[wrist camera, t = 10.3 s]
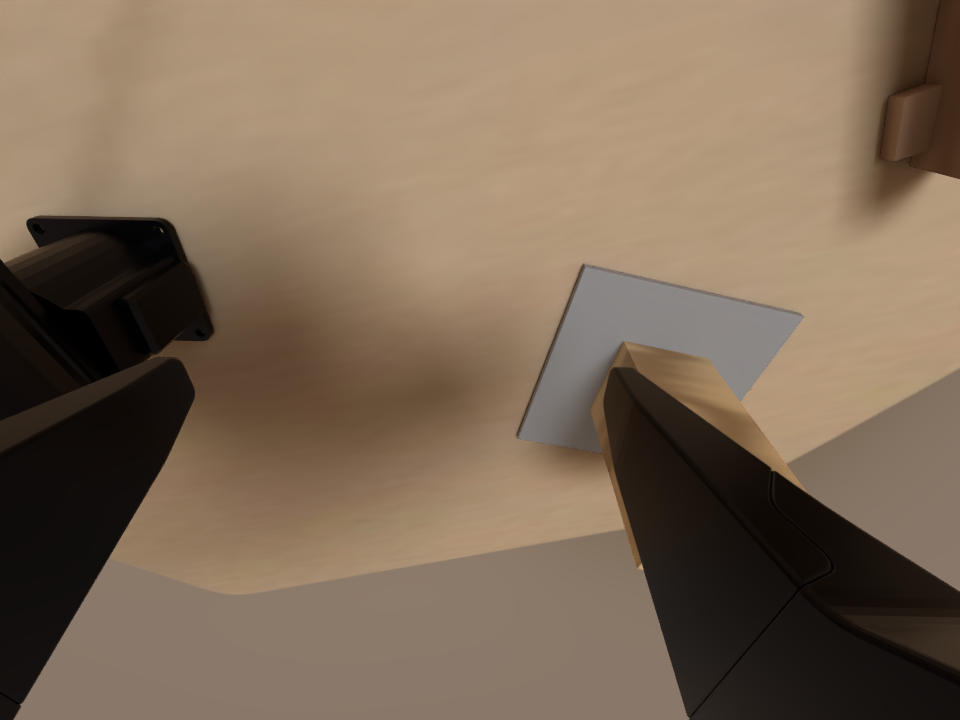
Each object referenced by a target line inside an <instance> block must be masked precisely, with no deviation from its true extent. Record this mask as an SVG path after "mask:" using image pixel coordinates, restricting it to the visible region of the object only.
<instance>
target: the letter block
mask: <svg viewBox="0 0 960 720" xmlns="http://www.w3.org/2000/svg"><path fill="white" fill-rule="evenodd" d="M613 367H632V368H634V369H635V370H637V371H638V372H640V373H641V374H642V375H644V376H645V377H647V378H648V379H649V380H651V381H652V382H653V383H655V384H656V385H658V386H659V387H660V388H662V389H663V390H665V391H666V392H667V393H669V394H670V395H671V396H673V397H674V398H676V399H677V400H678V401H680V402H681V403H683V404H684V405H685V406H687V407H688V408H689V409H691V410H692V411H694V412H695V413H696V414H698V415H699V416H701V417H702V418H703V419H705V420H706V421H707V422H709V423H710V424H712V425H713V426H714V427H716V428H717V429H719V430H720V431H721V432H723V433H724V434H725V435H727V436H728V437H730V438H731V439H732V440H734V441H735V442H736V443H738V444H739V445H741V446H742V447H743V448H745V449H746V450H748V451H749V452H750V453H752V454H753V455H754V456H756V457H757V458H759V459H760V460H761V461H763V462H764V463H766V464H767V465H768V466H770V467H771V468H772V471H777V472H778V473H780V474H781V475H782V476H784V477H785V478H787V479H788V480H789V481H791V482H792V483H793V484H795V485H796V486H798V487H799V488H801V489H802V490H803V491H805V489H804V488H803V487H802V485H801V484H800V482H799V481H798V480H797V479H796V477H795V476H794V474H793V473H792V472H791V471H790V469H789V468H788V466H787V465H786V463H785V462H784V461H783V459H782V458H781V457H780V455H779V454H778V453H777V451H776V450H775V449H774V447H773V446H772V444H771V443H770V442H769V440H768V439H767V438H766V436H765V435H764V434H763V432H762V431H761V430H760V428H759V427H758V425H757V424H756V423H755V421H754V420H753V419H752V417H751V416H750V415H749V413H748V412H747V411H746V409H745V408H744V406H743V405H742V404H741V402H740V401H739V400H738V398H737V397H736V396H735V394H734V393H733V392H732V390H731V389H730V387H729V386H728V385H727V383H726V382H725V381H724V379H723V378H722V377H721V375H720V374H719V373H718V371H717V370H716V368H715V367H714V366H713V364H712V363H711V362H710V360H709V359H708V358H704V357H699V356H695V355H690V354H685V353H680V352H675V351H670V350H665V349H661V348H656V347H651V346H646V345H641V344H636V343H632V342H627V341H623V343H622V345H621V347H620V349H619V351H618V353H617V355H616V357H615V359H614V361H613V363H612V365H611V367H610V369H609V371H608V373H607V375H606V377H605V379H604V381H603V383H602V385H601V387H600V389H599V391H598V393H597V395H596V397H595V399H594V401H593V403H592V405H591V408H590V411H591V414H592V418H593V421H594V424H595V428H596V431H597V435H598V438H599V441H600V445H601V448H602V452H603V455H604V458H605V462H606V465H607V468H608V472H609V475H610V479H611V482H612V485H613V489H614V492H615V495H616V499H617V502H618V506H619V509H620V512H621V516H622V519H623V523H624V526H625V529H626V533H627V536H628V539H629V543H630V546H631V550H632V553H633V556H634V560H635V563H636V566H637V569H642V570H643V566H642V563H641V559H640V556H639V553H638V549H637V546H636V543H635V539H634V536H633V533H632V529H631V526H630V523H629V519H628V516H627V513H626V509H625V506H624V503H623V499H622V496H621V493H620V489H619V486H618V483H617V479H616V475H615V472H614V467H613V462H612V456H611V450H610V444H609V438H608V432H607V426H606V420H605V414H604V408H603V398H604V393H605V389H606V385H607V381H608V376H609V372H610V370H611V369H612V368H613ZM805 492H806V491H805ZM806 493H807V492H806Z"/></svg>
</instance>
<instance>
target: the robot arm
mask: <svg viewBox="0 0 960 720" xmlns="http://www.w3.org/2000/svg"><path fill="white" fill-rule="evenodd" d="M26 225H27V228H28V230H29V232H30V233H31V235H32V237H33V238H34V240H35V242H36V243H37V245H38V247H39V248H38V249H36V250H33V251H31V252H29V253H26V254H24V255H22V256H19V257H17V258H15V259H12V260H10V261H8V262H5V263H3V262H2V260H1V259H0V720H14V718H15V716H16V714H17V713H18V711H19V709H20V708H21V705H20V704H21V703H23V702H24V700H25V699H26V697H27V695H28V693H29V692H30V690H31V688H32V687H33V685H34V683H35V681H36V680H37V678H38V676H39V675H40V673H41V671H42V670H43V668H44V666H45V665H46V663H47V661H48V660H49V658H50V656H51V655H52V653H53V651H54V650H55V648H56V646H57V644H58V643H59V641H60V639H61V638H62V636H63V634H64V633H65V631H66V629H67V628H68V626H69V624H70V623H71V621H72V619H73V617H74V616H75V614H76V612H77V611H78V609H79V607H80V606H81V604H82V602H83V601H84V599H85V597H86V595H87V594H88V592H89V590H90V589H91V587H92V585H93V584H94V582H95V580H96V579H97V577H98V575H99V573H100V572H101V570H102V568H103V566H104V565H105V563H106V562H107V560H108V558H109V557H110V555H111V553H112V552H113V550H114V548H115V547H116V545H117V543H118V541H119V540H120V538H121V536H122V535H123V533H124V531H125V530H126V528H127V526H128V525H129V523H130V521H131V519H132V518H133V516H134V514H135V513H136V511H137V509H138V508H139V506H140V504H141V503H142V501H143V499H144V498H145V496H146V494H147V492H148V491H149V489H150V487H151V486H152V484H153V482H154V481H155V479H156V477H157V476H158V474H159V472H160V470H161V469H162V467H163V465H164V463H165V461H166V459H167V457H168V455H169V453H170V451H171V449H172V447H173V445H174V443H175V440H176V438H177V436H178V434H179V432H180V429H181V427H182V425H183V423H184V421H185V418H186V416H187V414H188V412H189V410H190V407H191V405H192V403H193V401H194V397H195V390H194V386H193V384H192V382H191V380H190V378H189V376H188V373H187V371H186V369H185V367H184V365H183V363H182V362H181V361H180V360H179V359H177V358H174V357H156V358H152V359H150V360H148V361H146V360H147V359H148V358H150V357H151V356H152V355H157V354H159V353H160V352H161V351H162V350H163V349H164V348H165V347H167V346H168V345H169V344H170V343H171V342H172V341H173V340H181V341H206V340H208V339H209V338H210V337H211V336H212V335H213V333H214V331H213V328H212V325H211V323H210V320H209V317H208V315H207V312H206V308H205V305H204V303H203V300H202V298H201V295H200V293H199V290H198V287H197V285H196V282H195V280H194V277H193V275H192V272H191V270H190V267H189V266H188V264H187V261H186V259H185V256H184V254H183V251H182V249H181V246H180V244H179V241H178V238H177V236H176V233H175V231H174V228H173V227H172V225H171V224H170V223H169V222H168V221H166V220H165V219H162V218H143V217H90V216H36V217H33V218H30V219H28V220H27V223H26ZM40 225H41V226H42V227H43V228H44V229H42V227H41V226H40ZM157 226H158V227H160V228H161V229H162V230H163V232H164V234H163V233H161V232H160V231H159V230H158V228H157ZM199 329H201V330H203V331H204V333H203V332H201V331H200V330H199ZM603 408H604V414H605V420H606V426H607V432H608V438H609V444H610V450H611V456H612V462H613V467H614V472H615V475H616V479H617V483H618V486H619V489H620V493H621V496H622V499H623V503H624V506H625V509H626V513H627V516H628V519H629V523H630V526H631V529H632V533H633V536H634V539H635V543H636V546H637V549H638V553H639V556H640V559H641V563H642V566H643V570H644V573H645V576H646V580H647V583H648V586H649V590H650V593H651V596H652V599H653V603H654V606H655V610H656V613H657V616H658V619H659V623H660V626H661V630H662V633H663V636H664V639H665V643H666V646H667V650H668V653H669V656H670V660H671V663H672V666H673V670H674V673H675V676H676V680H677V683H678V686H679V689H680V692H681V696H682V700H683V703H684V707H685V710H686V713H687V716H688V717H689V718H690V719H689V720H960V591H958V590H956V589H955V588H953V587H952V586H950V585H949V584H947V583H945V582H944V581H942V580H940V579H939V578H938V577H936V576H934V575H933V574H931V573H930V572H928V571H926V570H925V569H923V568H922V567H920V566H919V565H917V564H915V563H914V562H912V561H911V560H909V559H908V558H906V557H904V556H903V555H901V554H900V553H898V552H896V551H895V550H893V549H892V548H890V547H889V546H887V545H885V544H884V543H882V542H881V541H879V540H878V539H876V538H874V537H873V536H871V535H870V534H868V533H867V532H865V531H863V530H862V529H860V528H859V527H857V526H856V525H854V524H853V523H851V522H849V521H848V520H846V519H845V518H843V517H842V516H840V515H839V514H837V513H836V512H834V511H832V510H831V509H829V508H828V507H826V506H825V505H823V504H822V503H821V502H819V501H818V500H816V499H815V498H813V497H812V496H811V495H809V494H808V493H806V492H805V491H803V490H802V489H801V488H799V487H798V486H796V485H795V484H793V483H792V482H791V481H789V480H788V479H787V478H785V477H784V476H782V475H781V474H780V473H778V472H777V471H772V468H771V467H770V466H768V465H767V464H766V463H764V462H763V461H761V460H760V459H759V458H757V457H756V456H754V455H753V454H752V453H750V452H749V451H748V450H746V449H745V448H743V447H742V446H741V445H739V444H738V443H736V442H735V441H734V440H732V439H731V438H730V437H728V436H727V435H725V434H724V433H723V432H721V431H720V430H719V429H717V428H716V427H714V426H713V425H712V424H710V423H709V422H707V421H706V420H705V419H703V418H702V417H701V416H699V415H698V414H696V413H695V412H694V411H692V410H691V409H689V408H688V407H687V406H685V405H684V404H683V403H681V402H680V401H678V400H677V399H676V398H674V397H673V396H671V395H670V394H669V393H667V392H666V391H665V390H663V389H662V388H660V387H659V386H658V385H656V384H655V383H653V382H652V381H651V380H649V379H648V378H647V377H645V376H644V375H642V374H641V373H640V372H638V371H637V370H635V369H634V368H632V367H613V368H612V369H611V370H610V372H609V376H608V381H607V385H606V389H605V393H604V398H603Z"/></svg>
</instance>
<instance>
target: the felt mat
mask: <svg viewBox="0 0 960 720" xmlns="http://www.w3.org/2000/svg"><path fill="white" fill-rule="evenodd" d="M803 318H804V316H803V315H802V314H800V313H797V312H793V311H789V310H784V309H780V308H775V307H771V306H767V305H762V304H758V303H753V302H749V301H745V300H740V299H736V298H731V297H727V296H723V295H718V294H714V293H710V292H705V291H701V290H696V289H692V288H688V287H683V286H679V285H674V284H670V283H666V282H661V281H657V280H652V279H648V278H644V277H639V276H635V275H630V274H626V273H622V272H617V271H613V270H608V269H604V268H600V267H595V266H591V265H587V264H584V265H583V267H582V270H581V272H580V275H579V278H578V280H577V283H576V285H575V288H574V290H573V293H572V296H571V298H570V301H569V303H568V306H567V308H566V311H565V314H564V316H563V319H562V321H561V324H560V327H559V329H558V332H557V334H556V337H555V339H554V342H553V345H552V347H551V350H550V352H549V355H548V357H547V360H546V363H545V365H544V368H543V370H542V373H541V375H540V378H539V381H538V383H537V386H536V388H535V391H534V394H533V396H532V399H531V401H530V404H529V406H528V409H527V412H526V414H525V417H524V419H523V422H522V424H521V427H520V430H519V432H518V439H521V440H527V441H532V442H538V443H544V444H550V445H555V446H561V447H567V448H573V449H579V450H584V451H590V452H596V453H602V454H603V452H602V448H601V445H600V441H599V438H598V435H597V431H596V428H595V424H594V421H593V418H592V414H591V411H590V408H591V405H592V403H593V401H594V399H595V397H596V395H597V393H598V391H599V389H600V387H601V385H602V383H603V381H604V379H605V377H606V375H607V373H608V371H609V369H610V367H611V365H612V363H613V361H614V359H615V357H616V355H617V353H618V351H619V349H620V347H621V345H622V343H623V341H627V342H632V343H636V344H641V345H646V346H651V347H656V348H661V349H665V350H670V351H675V352H680V353H685V354H690V355H695V356H699V357H704V358H708V359H709V360H710V362H711V363H712V364H713V366H714V367H715V368H716V370H717V371H718V373H719V374H720V375H721V377H722V378H723V379H724V381H725V382H726V383H727V385H728V386H729V387H730V389H731V390H732V392H733V393H734V394H735V396H736V397H737V398H738V400H739V401H741V400H742V399H743V397H744V396H745V395H746V394H747V392H748V391H749V390H750V388H751V387H752V386H753V384H754V383H755V382H756V380H757V379H758V378H759V376H760V375H761V374H762V372H763V371H764V370H765V368H766V367H767V366H768V364H769V363H770V362H771V360H772V359H773V358H774V356H775V355H776V354H777V352H778V351H779V350H780V348H781V347H782V346H783V344H784V343H785V342H786V340H787V339H788V338H789V336H790V335H791V334H792V333H793V331H794V330H795V329H796V327H797V326H798V325H799V323H800V322H801V321H802V319H803Z"/></svg>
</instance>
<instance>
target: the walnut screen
mask: <svg viewBox="0 0 960 720" xmlns="http://www.w3.org/2000/svg"><path fill="white" fill-rule="evenodd" d="M910 156H912V157H911V162H910V166H911V167H915V168H919V169H923V170H927V171H930V172H934V173H938V174H942V175H946V176H950V177H954V178H958V179H960V0H941V1H940V6H939V12H938V17H937V22H936V28H935V33H934V38H933V44H932V49H931V55H930V60H929V65H928V71H927V76H926V82H925V84H922V85H919V86H916V87H913V88H911V89H908V90H905V91H902V92H899V93H897V94H894V95H891V96H889V99H888V106H887V113H886V119H885V126H884V133H883V140H882V147H881V153H880V158H882V159H886V160H890V161H894V162H895V161H898V160H901V159H904V158H907V157H910Z"/></svg>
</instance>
